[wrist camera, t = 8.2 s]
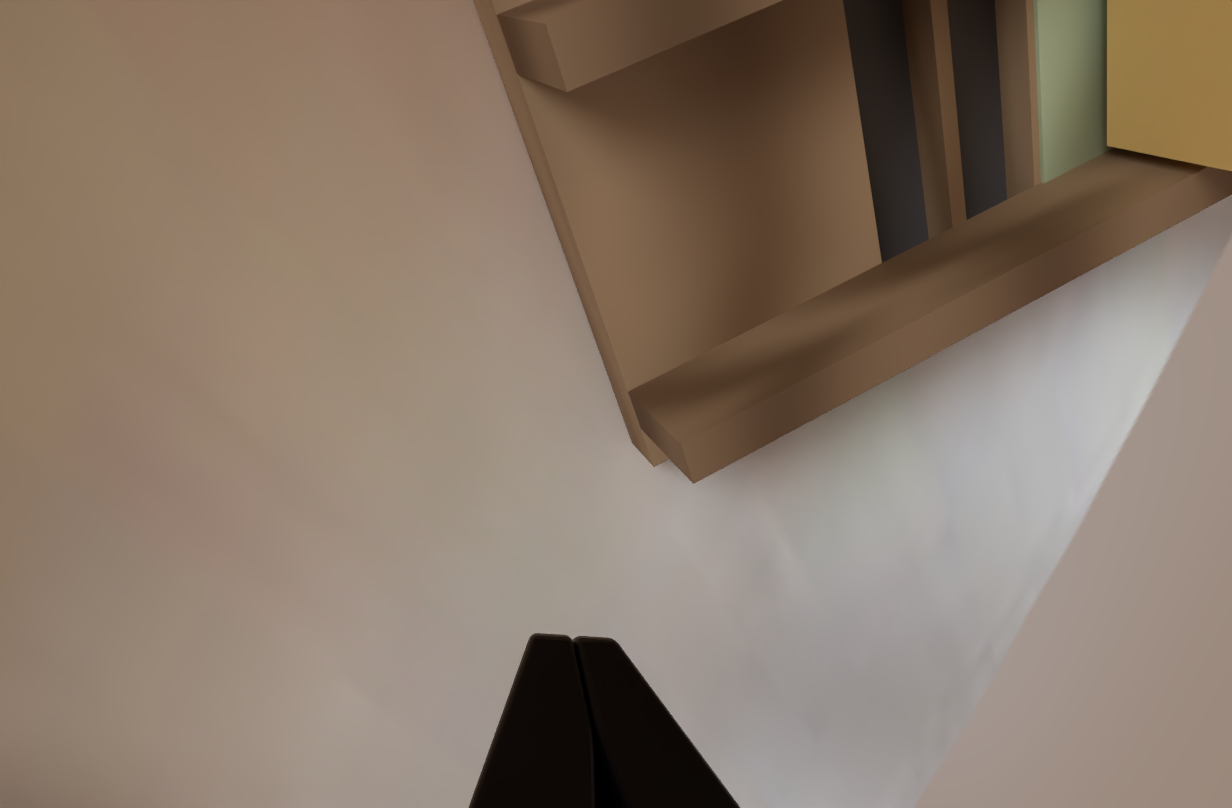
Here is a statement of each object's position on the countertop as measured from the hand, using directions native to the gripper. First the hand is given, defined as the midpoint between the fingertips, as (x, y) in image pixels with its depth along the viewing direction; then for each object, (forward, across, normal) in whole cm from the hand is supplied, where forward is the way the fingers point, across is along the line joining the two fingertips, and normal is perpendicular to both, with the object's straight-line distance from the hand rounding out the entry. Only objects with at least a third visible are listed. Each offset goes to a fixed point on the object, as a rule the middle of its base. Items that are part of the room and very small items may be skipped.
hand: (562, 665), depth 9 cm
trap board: (+14, -8, -4) cm, 16 cm away
